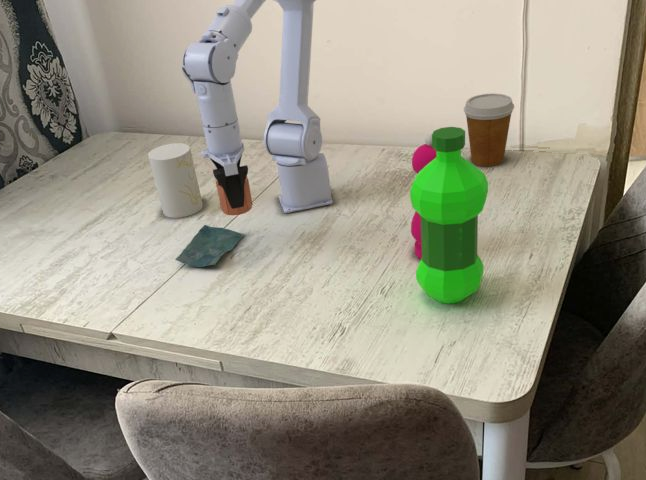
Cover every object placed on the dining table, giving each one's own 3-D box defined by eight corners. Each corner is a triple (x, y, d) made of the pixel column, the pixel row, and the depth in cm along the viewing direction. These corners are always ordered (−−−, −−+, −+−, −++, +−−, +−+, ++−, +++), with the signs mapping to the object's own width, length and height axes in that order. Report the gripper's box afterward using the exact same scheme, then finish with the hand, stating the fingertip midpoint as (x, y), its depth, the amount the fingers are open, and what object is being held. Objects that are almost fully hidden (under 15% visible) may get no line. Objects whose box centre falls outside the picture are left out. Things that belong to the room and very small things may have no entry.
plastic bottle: (411, 279, 114) (404, 123, 100) (479, 273, 113) (483, 115, 99) (417, 315, 106) (411, 151, 92) (491, 309, 105) (496, 142, 91)
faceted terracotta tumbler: (250, 198, 128) (245, 171, 125) (254, 212, 124) (249, 183, 120) (220, 205, 128) (214, 177, 125) (223, 218, 123) (217, 190, 120)
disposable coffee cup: (475, 148, 153) (476, 91, 146) (519, 154, 148) (522, 94, 141) (455, 166, 147) (455, 107, 140) (500, 172, 142) (502, 111, 135)
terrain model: (206, 232, 136) (204, 223, 135) (244, 236, 134) (243, 227, 133) (175, 268, 127) (173, 258, 126) (216, 272, 125) (214, 263, 123)
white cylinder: (195, 217, 143) (181, 158, 136) (157, 218, 145) (141, 160, 138) (208, 198, 149) (195, 142, 142) (171, 200, 151) (156, 144, 144)
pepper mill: (428, 268, 117) (425, 148, 105) (403, 250, 122) (397, 135, 110) (465, 253, 119) (465, 134, 107) (438, 237, 124) (436, 122, 113)
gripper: (192, 112, 122) (209, 187, 130) (198, 141, 110) (216, 222, 119) (233, 104, 123) (247, 179, 131) (244, 132, 111) (258, 213, 119)
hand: (235, 199), depth 125 cm, fingers closed on faceted terracotta tumbler, 5 cm apart
